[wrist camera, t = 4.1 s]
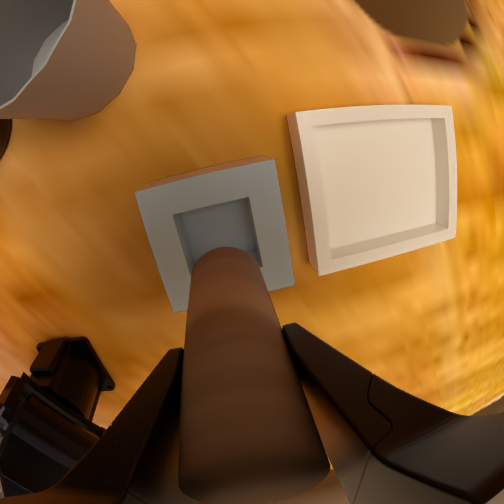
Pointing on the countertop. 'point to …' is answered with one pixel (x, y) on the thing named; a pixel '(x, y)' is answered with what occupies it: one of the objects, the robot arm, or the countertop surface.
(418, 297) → the countertop surface
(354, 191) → the tray
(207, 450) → the dowel
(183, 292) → the grey square peg base
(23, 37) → the cup
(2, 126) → the supplement bottle
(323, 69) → the countertop surface
